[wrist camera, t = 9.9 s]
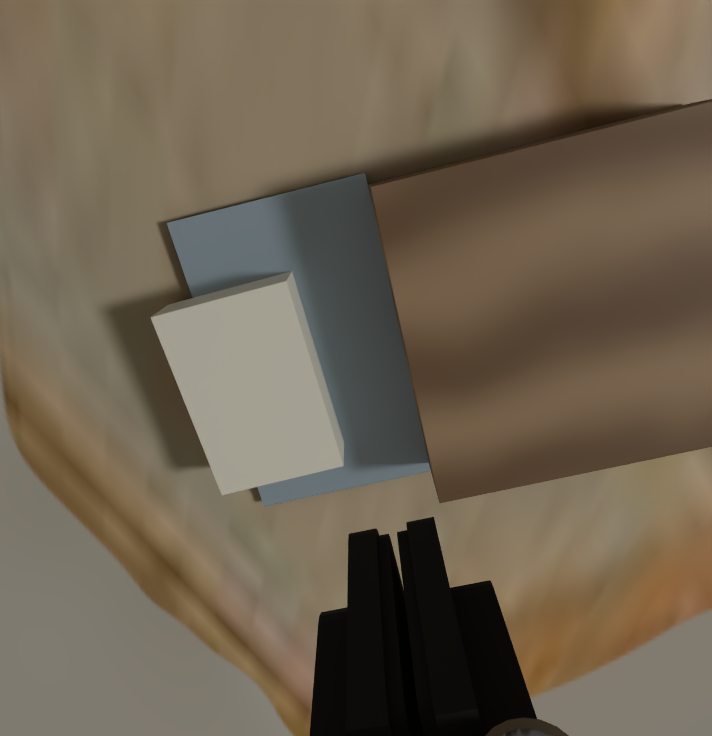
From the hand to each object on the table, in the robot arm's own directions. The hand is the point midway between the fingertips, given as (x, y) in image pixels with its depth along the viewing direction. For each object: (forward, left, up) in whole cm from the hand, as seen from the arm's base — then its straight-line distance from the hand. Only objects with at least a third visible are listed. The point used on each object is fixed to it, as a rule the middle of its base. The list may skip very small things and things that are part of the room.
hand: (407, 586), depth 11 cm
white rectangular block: (+1, -6, -14) cm, 15 cm away
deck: (0, +8, -17) cm, 19 cm away
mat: (0, -3, -17) cm, 17 cm away
